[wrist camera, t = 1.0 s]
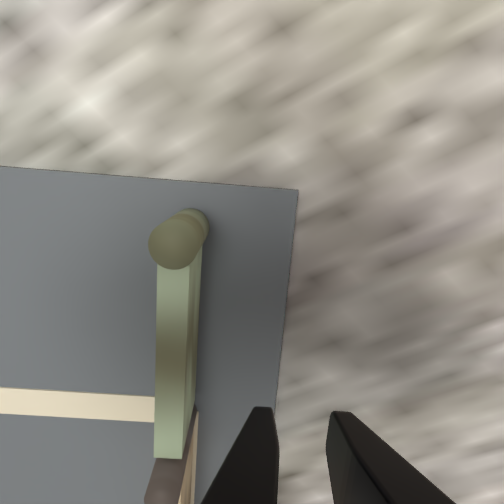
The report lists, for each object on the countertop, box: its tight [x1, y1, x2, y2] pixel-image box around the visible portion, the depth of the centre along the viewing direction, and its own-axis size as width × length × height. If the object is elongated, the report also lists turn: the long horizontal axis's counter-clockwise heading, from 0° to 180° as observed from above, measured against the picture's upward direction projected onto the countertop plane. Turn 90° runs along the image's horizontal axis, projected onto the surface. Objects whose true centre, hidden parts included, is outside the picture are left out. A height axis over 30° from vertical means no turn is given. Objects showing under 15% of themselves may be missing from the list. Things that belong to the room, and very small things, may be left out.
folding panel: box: [148, 208, 210, 459], centre depth 16 cm, size 10×2×4 cm, turn 175°
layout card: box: [0, 166, 298, 504], centre depth 20 cm, size 25×19×1 cm
